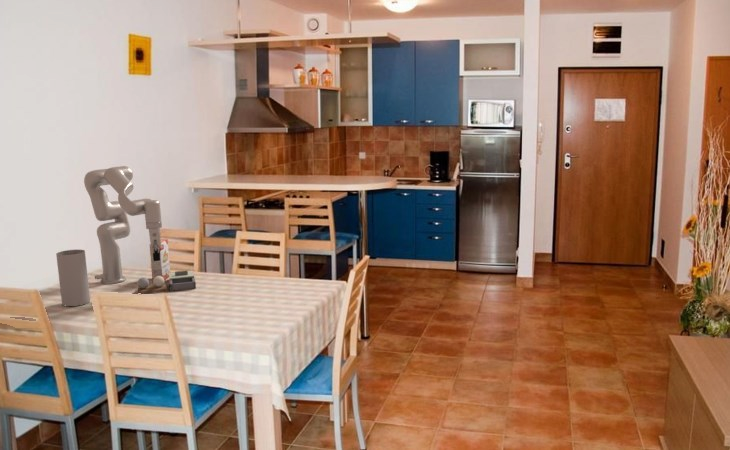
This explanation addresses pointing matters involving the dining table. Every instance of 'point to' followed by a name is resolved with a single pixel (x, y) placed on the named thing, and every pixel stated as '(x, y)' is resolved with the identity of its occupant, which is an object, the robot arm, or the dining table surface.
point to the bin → (182, 284)
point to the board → (152, 289)
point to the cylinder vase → (73, 277)
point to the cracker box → (161, 261)
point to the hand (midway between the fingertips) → (156, 258)
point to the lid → (181, 274)
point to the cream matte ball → (158, 281)
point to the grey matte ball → (143, 283)
